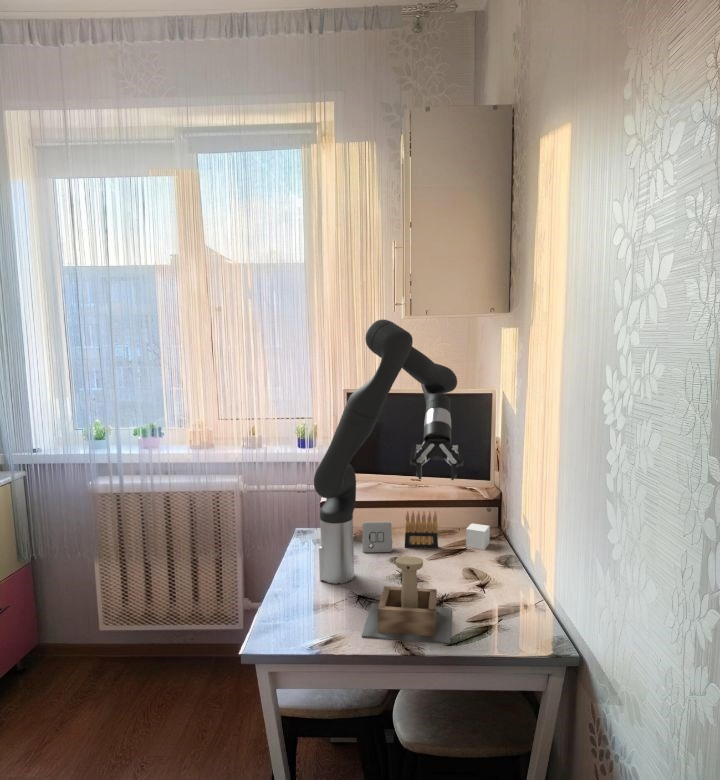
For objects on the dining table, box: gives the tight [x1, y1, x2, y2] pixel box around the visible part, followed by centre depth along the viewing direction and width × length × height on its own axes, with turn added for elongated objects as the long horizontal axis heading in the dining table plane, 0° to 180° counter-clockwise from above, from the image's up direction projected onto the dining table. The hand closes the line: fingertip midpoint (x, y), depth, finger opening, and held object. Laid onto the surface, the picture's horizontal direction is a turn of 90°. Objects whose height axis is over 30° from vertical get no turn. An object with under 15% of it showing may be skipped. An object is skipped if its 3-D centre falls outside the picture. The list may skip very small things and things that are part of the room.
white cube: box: [465, 523, 491, 551], centre depth 188 cm, size 6×6×6 cm
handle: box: [395, 555, 424, 608], centre depth 139 cm, size 5×6×15 cm
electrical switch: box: [361, 521, 393, 553], centre depth 186 cm, size 9×5×9 cm, turn 90°
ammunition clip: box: [404, 510, 439, 549], centre depth 187 cm, size 11×2×12 cm, turn 85°
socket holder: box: [361, 585, 452, 645], centre depth 139 cm, size 20×16×6 cm
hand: (436, 478), depth 153 cm, fingers open, 8 cm apart
